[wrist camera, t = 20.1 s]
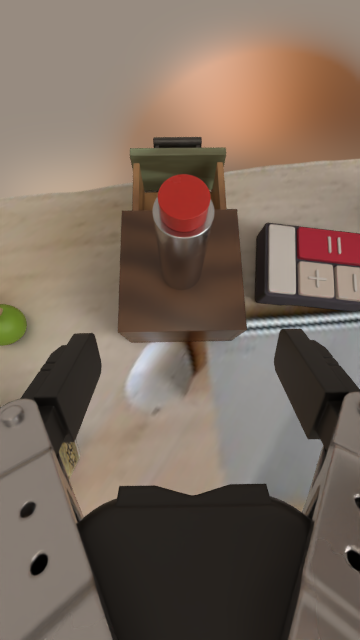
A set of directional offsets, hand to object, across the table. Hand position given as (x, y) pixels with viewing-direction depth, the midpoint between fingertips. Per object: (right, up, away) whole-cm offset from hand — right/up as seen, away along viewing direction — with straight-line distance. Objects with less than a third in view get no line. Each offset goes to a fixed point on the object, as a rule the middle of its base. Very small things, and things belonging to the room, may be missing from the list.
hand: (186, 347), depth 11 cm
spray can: (0, +7, +18) cm, 19 cm away
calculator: (+19, +8, +27) cm, 34 cm away
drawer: (0, +18, +28) cm, 34 cm away
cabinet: (0, +6, +26) cm, 27 cm away
